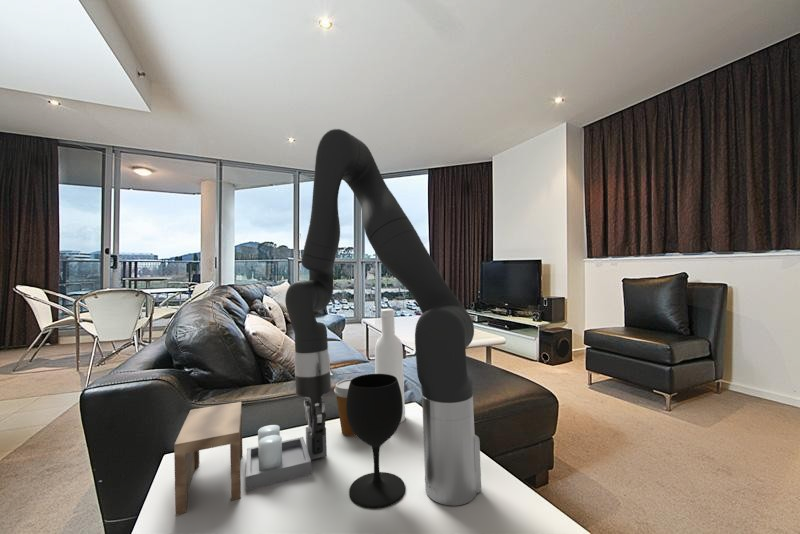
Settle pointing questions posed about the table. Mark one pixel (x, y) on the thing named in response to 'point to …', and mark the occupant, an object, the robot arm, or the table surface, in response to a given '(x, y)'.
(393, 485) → the wine glass
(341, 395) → the disposable coffee cup
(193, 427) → the small wooden table
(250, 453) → the tray
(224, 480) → the table surface
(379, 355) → the bottle
